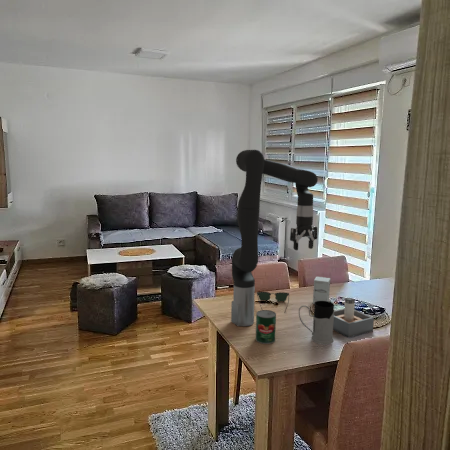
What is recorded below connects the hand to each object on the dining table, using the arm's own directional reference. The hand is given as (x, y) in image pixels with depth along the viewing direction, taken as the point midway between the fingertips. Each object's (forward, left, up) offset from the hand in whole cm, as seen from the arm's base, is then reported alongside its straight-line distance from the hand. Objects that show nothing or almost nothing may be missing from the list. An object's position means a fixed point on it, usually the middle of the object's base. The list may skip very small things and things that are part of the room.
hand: (303, 249), depth 189 cm
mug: (-15, -28, -30) cm, 44 cm away
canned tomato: (-33, -19, -30) cm, 49 cm away
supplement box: (+16, +4, -30) cm, 34 cm away
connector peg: (+5, -26, -29) cm, 39 cm away
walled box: (+5, -26, -30) cm, 40 cm away
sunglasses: (-9, +11, -31) cm, 34 cm away
